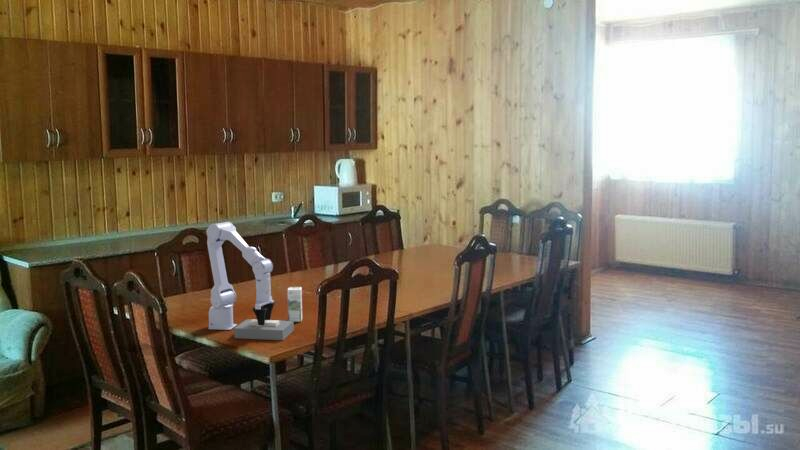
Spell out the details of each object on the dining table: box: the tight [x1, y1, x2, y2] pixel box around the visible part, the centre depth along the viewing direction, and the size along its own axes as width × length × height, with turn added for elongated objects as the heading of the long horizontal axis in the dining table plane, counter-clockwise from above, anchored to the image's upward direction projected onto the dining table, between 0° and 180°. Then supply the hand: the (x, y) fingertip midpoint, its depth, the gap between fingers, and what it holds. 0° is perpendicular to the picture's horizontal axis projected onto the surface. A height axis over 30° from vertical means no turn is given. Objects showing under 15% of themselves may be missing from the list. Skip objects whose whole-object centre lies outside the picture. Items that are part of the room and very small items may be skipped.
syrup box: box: [286, 286, 303, 323], centre depth 313 cm, size 6×6×14 cm
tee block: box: [250, 318, 279, 327], centre depth 293 cm, size 11×4×5 cm, turn 82°
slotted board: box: [233, 318, 295, 341], centre depth 293 cm, size 20×14×4 cm
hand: (264, 322), depth 292 cm, fingers open, 6 cm apart
